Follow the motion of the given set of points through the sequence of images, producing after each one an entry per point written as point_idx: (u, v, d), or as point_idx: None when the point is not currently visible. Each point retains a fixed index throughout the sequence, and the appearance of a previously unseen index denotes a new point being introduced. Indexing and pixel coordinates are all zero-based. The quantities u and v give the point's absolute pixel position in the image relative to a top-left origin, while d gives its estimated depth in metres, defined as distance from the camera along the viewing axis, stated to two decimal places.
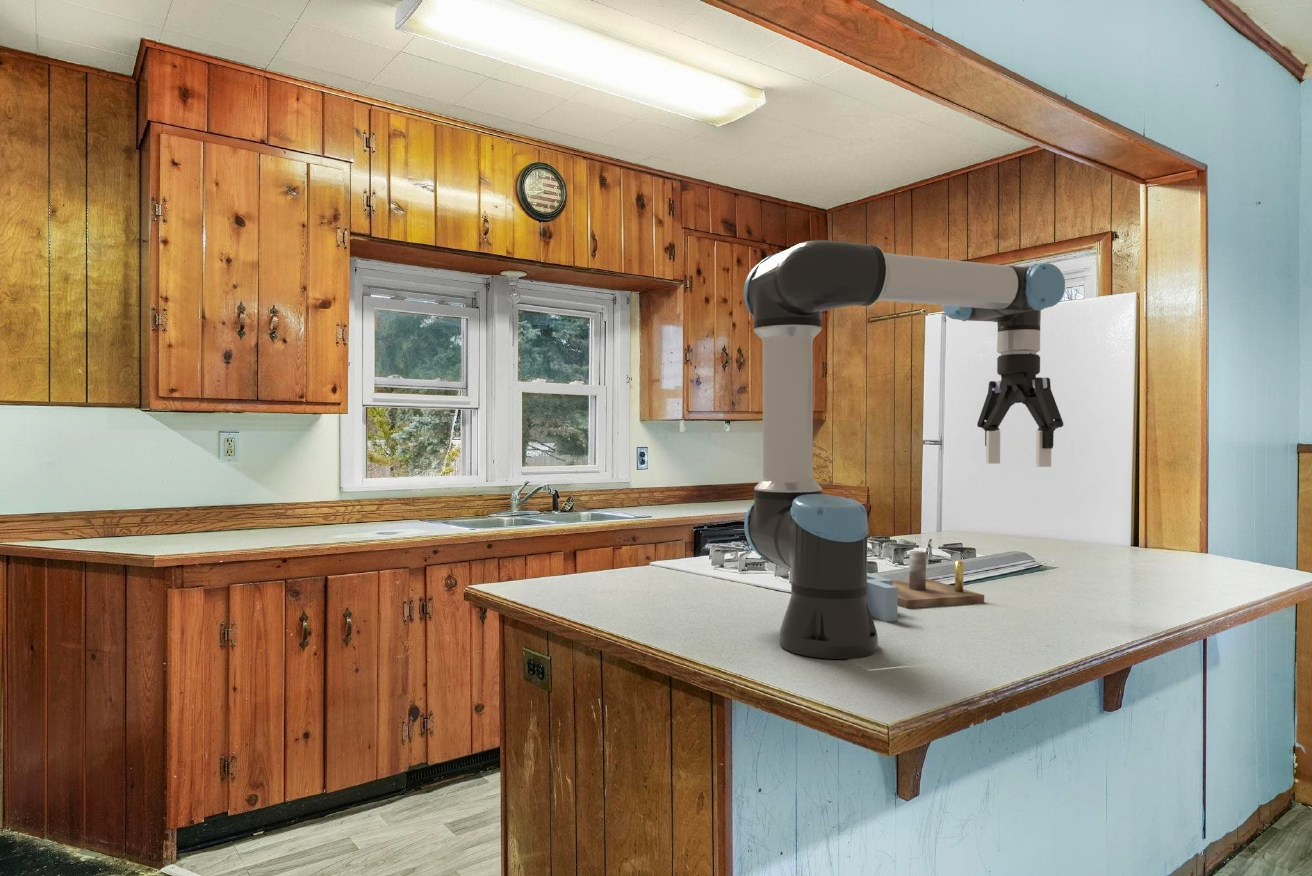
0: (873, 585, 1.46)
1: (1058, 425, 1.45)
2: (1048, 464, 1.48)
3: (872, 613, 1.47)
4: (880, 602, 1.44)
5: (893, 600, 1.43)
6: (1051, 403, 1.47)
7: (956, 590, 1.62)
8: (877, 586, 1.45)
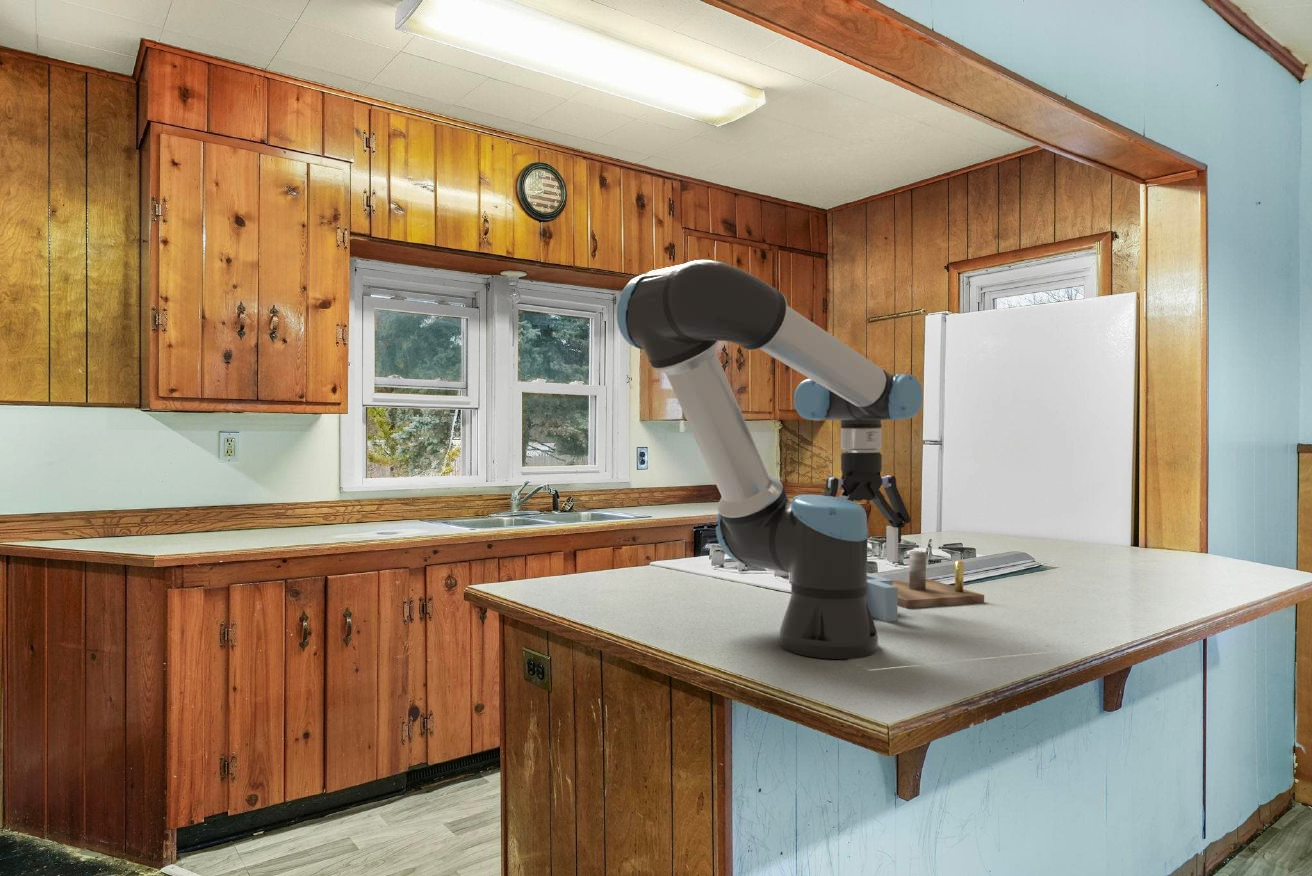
0: (873, 585, 1.46)
1: None
2: None
3: (872, 613, 1.47)
4: (880, 602, 1.44)
5: (893, 600, 1.43)
6: None
7: (956, 590, 1.62)
8: (877, 586, 1.45)
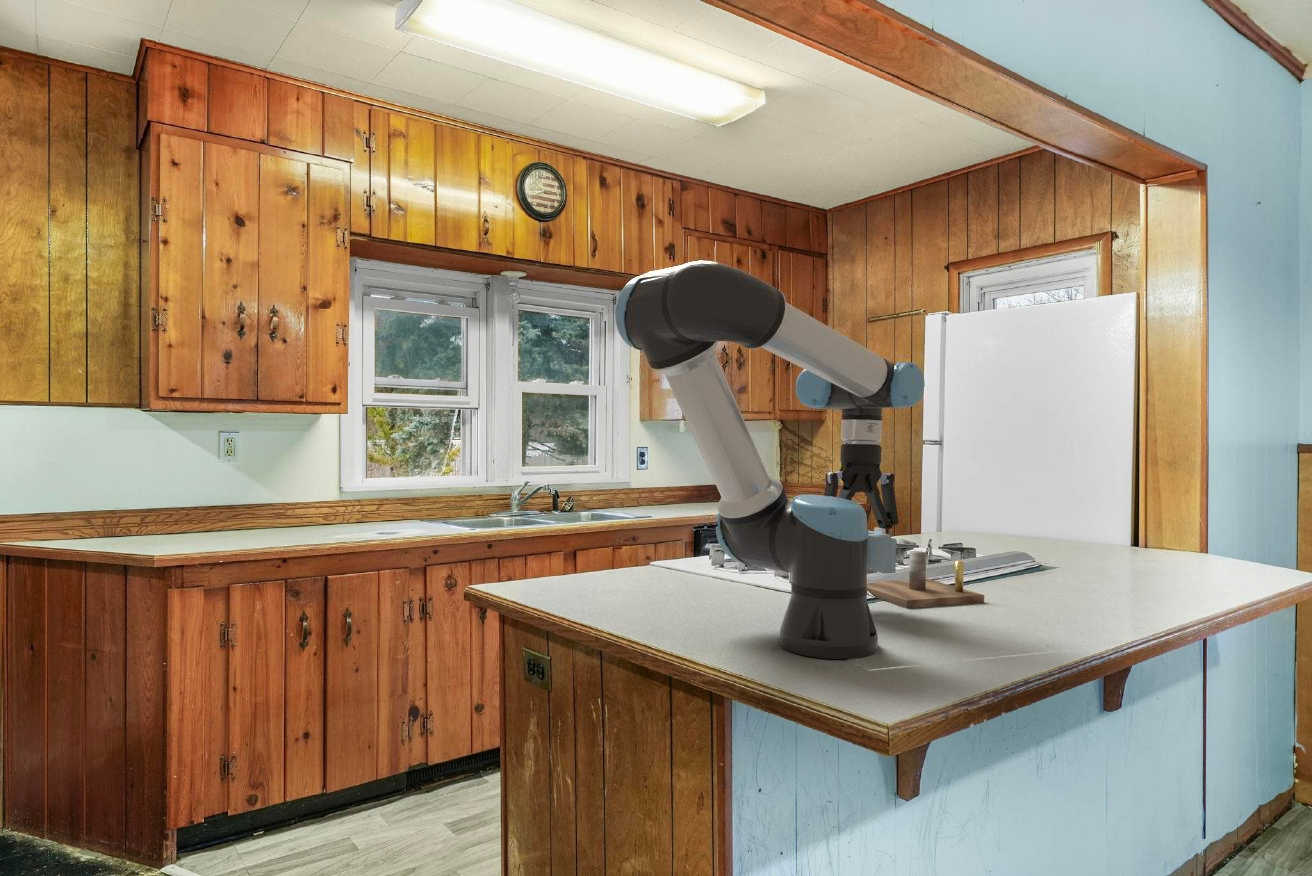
0: (872, 538, 1.46)
1: None
2: None
3: (870, 566, 1.46)
4: (878, 554, 1.44)
5: (891, 552, 1.43)
6: None
7: (956, 590, 1.62)
8: (876, 538, 1.45)
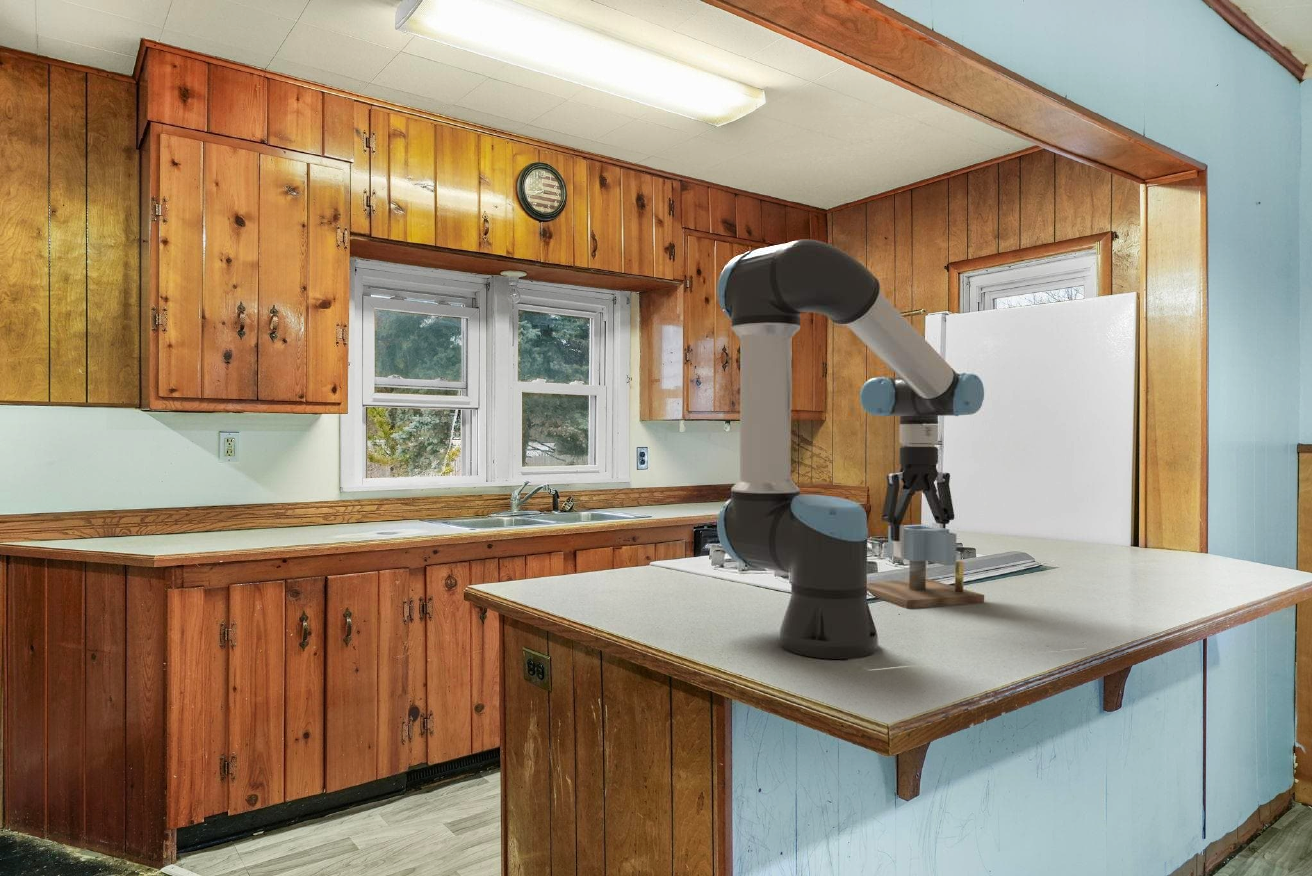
0: (933, 533, 1.59)
1: (886, 520, 1.62)
2: (899, 556, 1.63)
3: (932, 559, 1.59)
4: (939, 548, 1.57)
5: (952, 545, 1.55)
6: (888, 499, 1.63)
7: (956, 590, 1.62)
8: (937, 533, 1.57)
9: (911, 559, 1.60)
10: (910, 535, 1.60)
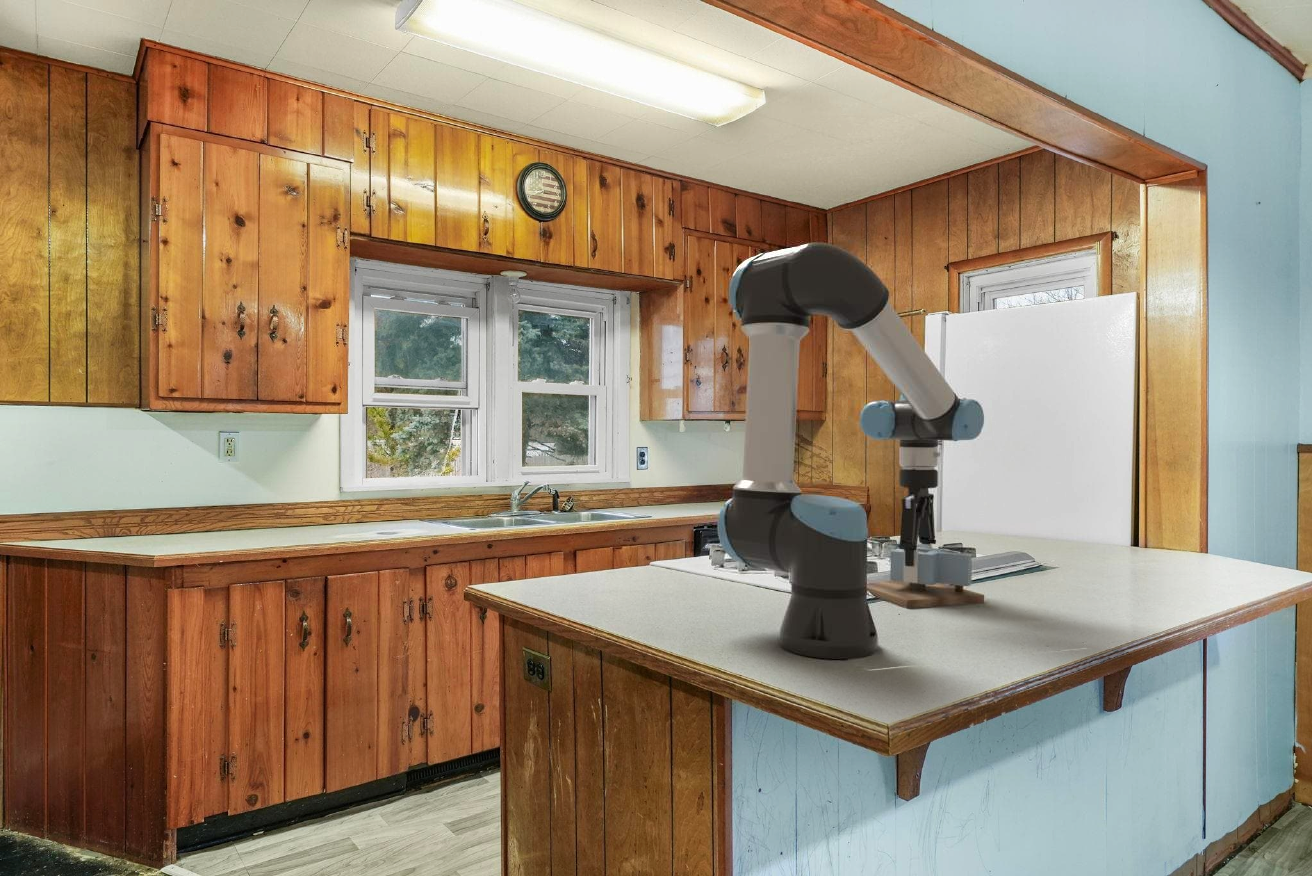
0: (948, 555, 1.60)
1: (907, 546, 1.58)
2: (914, 580, 1.61)
3: (946, 581, 1.61)
4: (959, 570, 1.59)
5: (970, 566, 1.59)
6: (908, 524, 1.59)
7: (956, 590, 1.62)
8: (954, 555, 1.60)
9: (929, 583, 1.60)
10: (928, 559, 1.60)
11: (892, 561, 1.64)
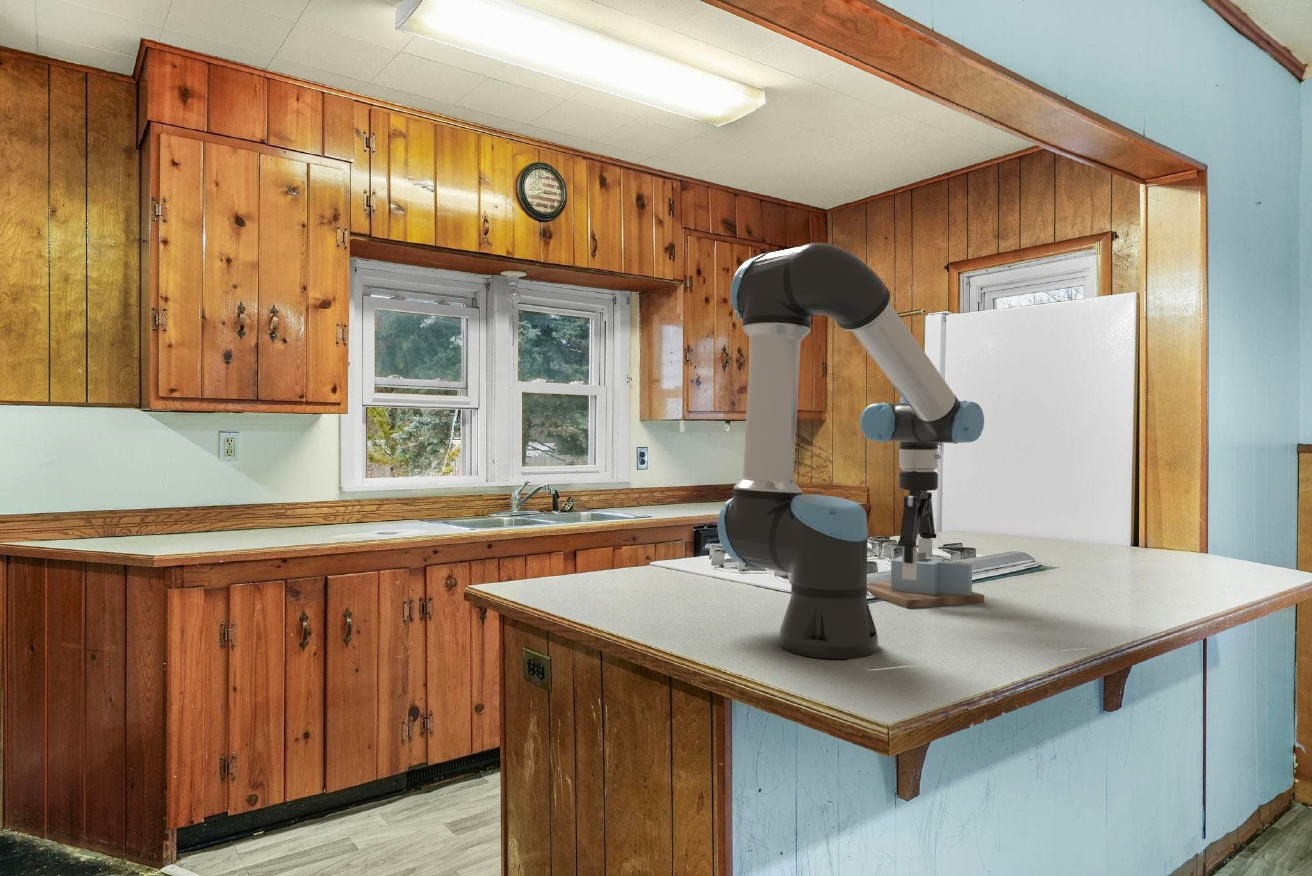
0: (948, 564, 1.60)
1: (906, 542, 1.56)
2: (913, 578, 1.59)
3: (947, 590, 1.61)
4: (959, 579, 1.59)
5: (971, 575, 1.60)
6: (909, 521, 1.58)
7: None
8: (955, 565, 1.60)
9: (931, 593, 1.59)
10: (930, 568, 1.60)
11: (893, 571, 1.63)
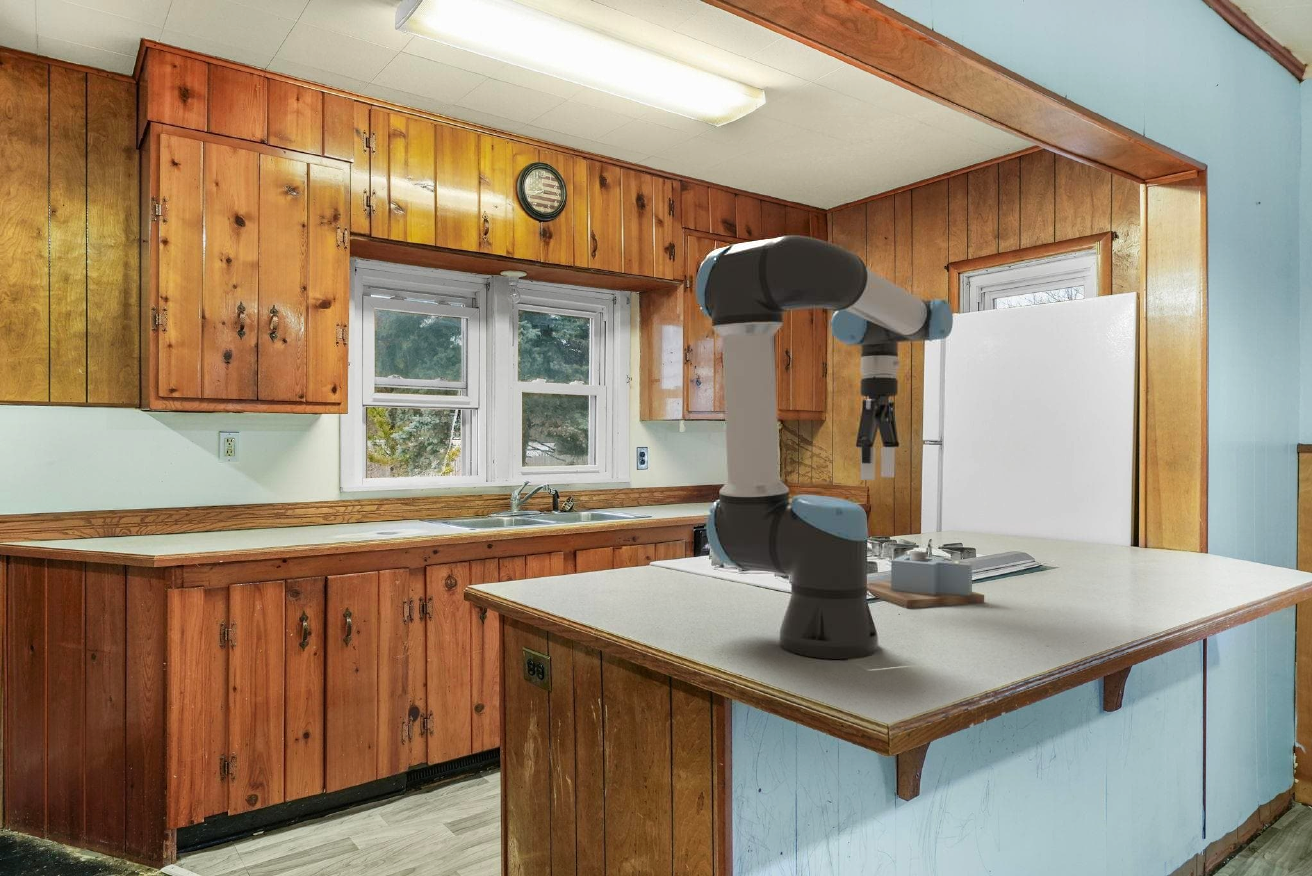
0: (948, 564, 1.60)
1: (863, 442, 1.61)
2: (870, 478, 1.63)
3: (947, 590, 1.61)
4: (959, 579, 1.59)
5: (971, 575, 1.60)
6: (866, 422, 1.63)
7: None
8: (955, 565, 1.60)
9: (931, 593, 1.59)
10: (930, 568, 1.60)
11: (893, 571, 1.63)
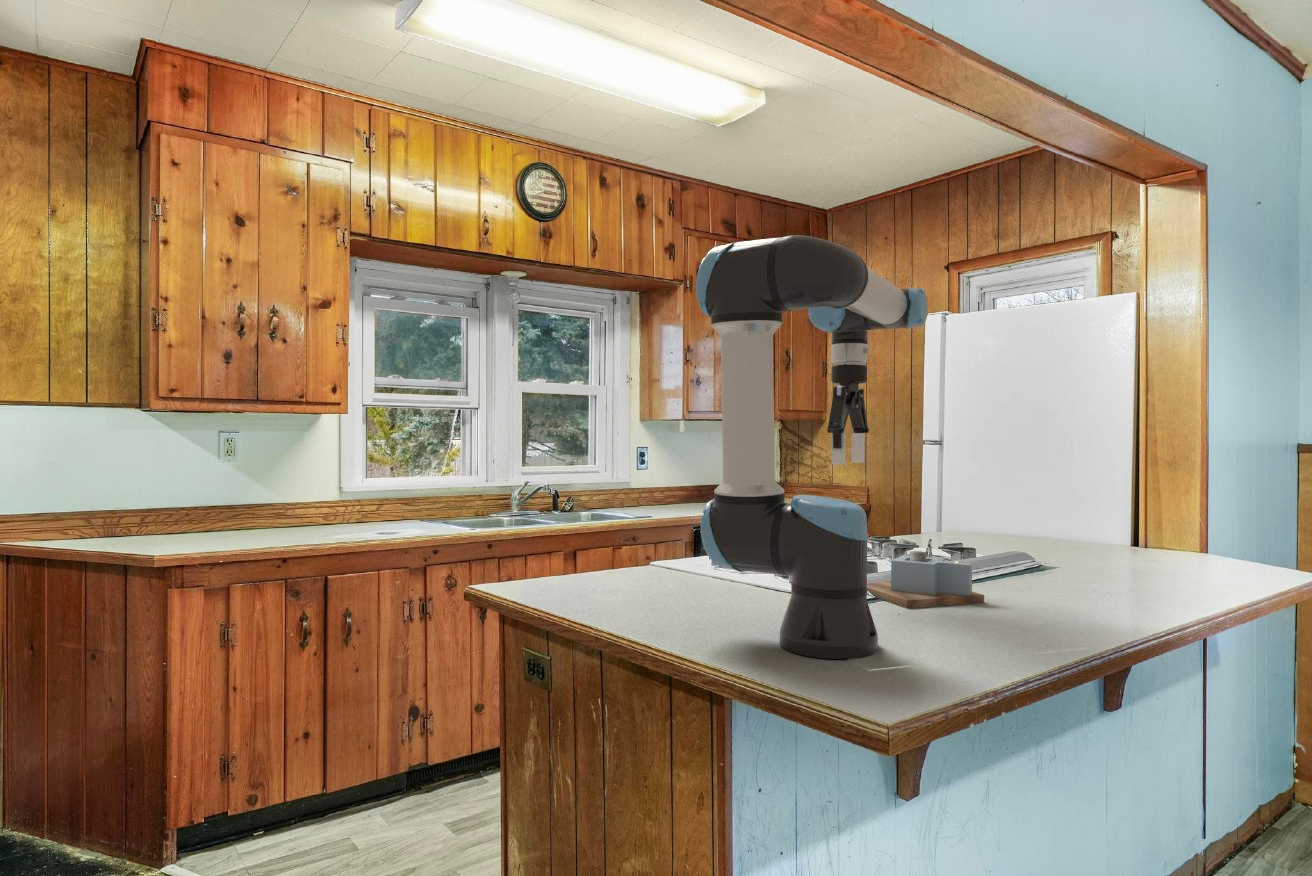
0: (948, 564, 1.60)
1: (834, 428, 1.65)
2: (841, 463, 1.67)
3: (947, 590, 1.61)
4: (959, 579, 1.59)
5: (971, 575, 1.60)
6: (837, 408, 1.66)
7: None
8: (955, 565, 1.60)
9: (931, 593, 1.59)
10: (930, 568, 1.60)
11: (893, 571, 1.63)
